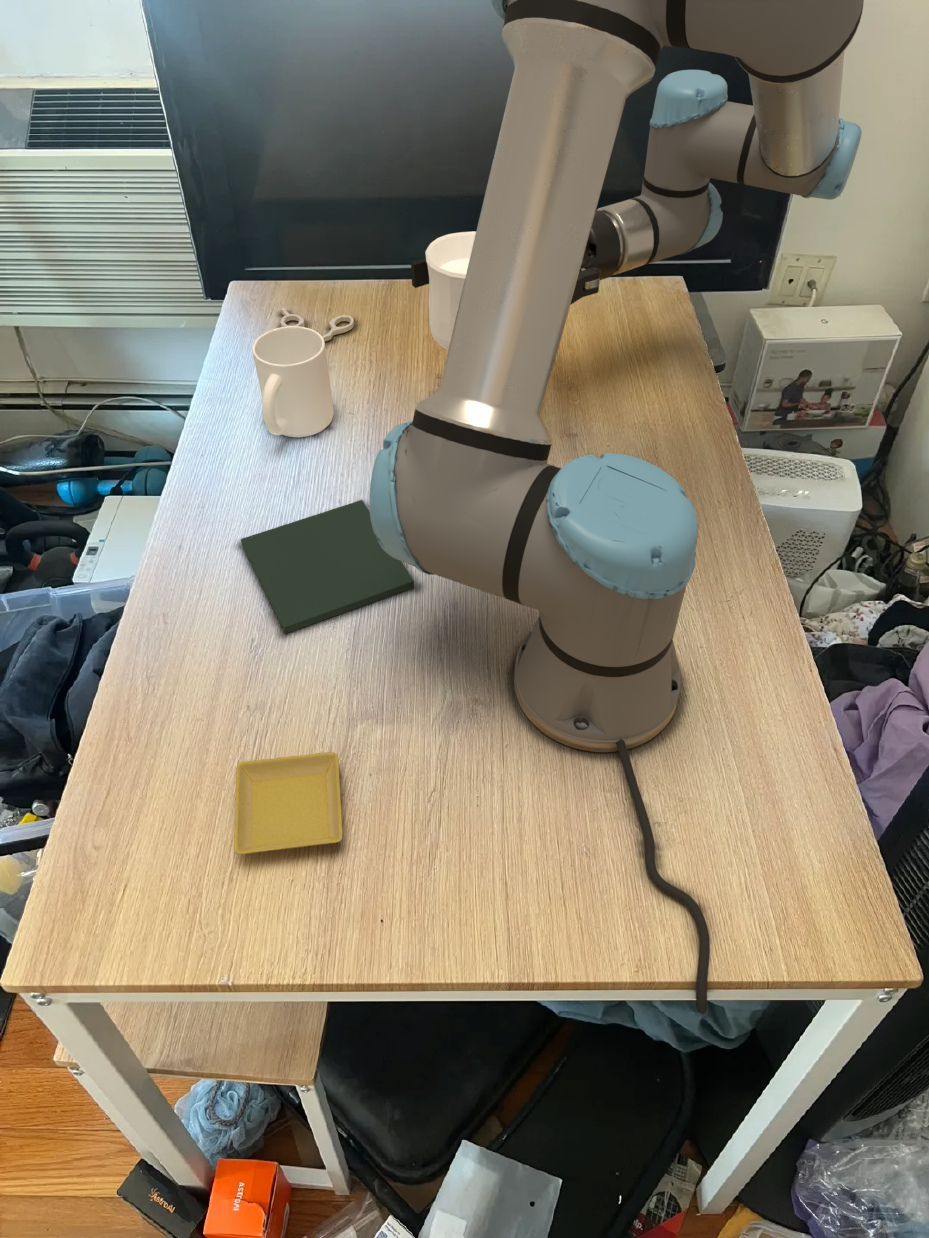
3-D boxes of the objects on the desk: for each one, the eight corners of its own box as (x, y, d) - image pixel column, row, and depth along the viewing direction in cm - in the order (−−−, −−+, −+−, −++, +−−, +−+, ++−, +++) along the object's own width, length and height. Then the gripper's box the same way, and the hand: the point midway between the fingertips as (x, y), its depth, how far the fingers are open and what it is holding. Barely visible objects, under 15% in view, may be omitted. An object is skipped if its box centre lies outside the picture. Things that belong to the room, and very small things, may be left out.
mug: (305, 464, 107) (292, 390, 99) (241, 451, 109) (224, 376, 101) (344, 405, 114) (335, 332, 107) (284, 394, 116) (271, 321, 108)
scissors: (356, 309, 128) (334, 392, 115) (356, 314, 128) (335, 397, 115) (281, 307, 128) (251, 389, 115) (282, 312, 129) (252, 395, 116)
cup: (465, 302, 108) (465, 221, 101) (531, 332, 104) (536, 250, 96) (410, 335, 104) (405, 252, 96) (476, 368, 99) (477, 284, 92)
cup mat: (414, 587, 94) (414, 581, 93) (284, 634, 90) (283, 627, 89) (362, 506, 102) (361, 499, 101) (242, 545, 98) (240, 538, 97)
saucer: (340, 763, 80) (338, 749, 78) (345, 853, 74) (342, 840, 73) (240, 774, 79) (236, 761, 78) (238, 866, 73) (233, 854, 72)
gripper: (660, 316, 102) (492, 377, 94) (545, 236, 114) (389, 283, 107) (672, 252, 96) (494, 311, 89) (549, 175, 109) (385, 220, 101)
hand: (437, 296), depth 98 cm, fingers closed on cup, 10 cm apart
